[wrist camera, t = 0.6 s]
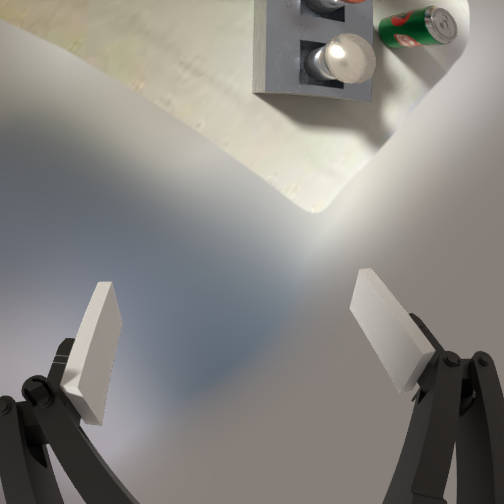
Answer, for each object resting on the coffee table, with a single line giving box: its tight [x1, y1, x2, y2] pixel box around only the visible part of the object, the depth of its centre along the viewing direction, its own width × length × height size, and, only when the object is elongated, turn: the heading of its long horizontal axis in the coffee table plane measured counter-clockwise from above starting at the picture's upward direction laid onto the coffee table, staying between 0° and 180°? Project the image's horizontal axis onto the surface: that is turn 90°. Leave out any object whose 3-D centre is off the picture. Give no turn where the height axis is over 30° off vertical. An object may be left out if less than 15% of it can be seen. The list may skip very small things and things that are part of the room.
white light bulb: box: [303, 33, 376, 83], centre depth 24 cm, size 5×5×8 cm
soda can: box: [379, 6, 457, 49], centre depth 26 cm, size 5×5×12 cm
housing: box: [253, 0, 373, 102], centre depth 28 cm, size 15×12×8 cm
